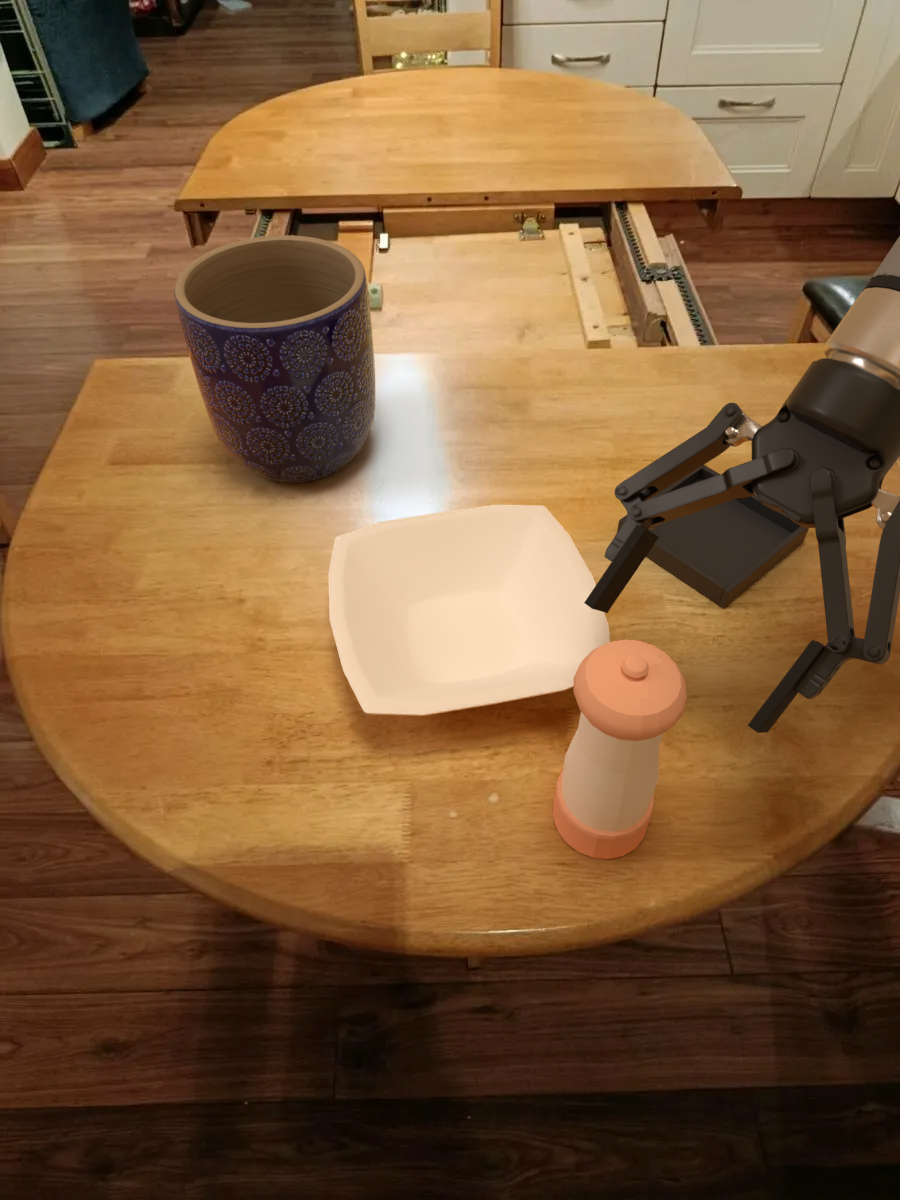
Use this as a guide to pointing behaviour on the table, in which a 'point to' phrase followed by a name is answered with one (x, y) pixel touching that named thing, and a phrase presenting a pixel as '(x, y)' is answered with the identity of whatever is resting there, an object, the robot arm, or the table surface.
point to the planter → (282, 352)
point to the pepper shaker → (616, 746)
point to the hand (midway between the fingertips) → (671, 665)
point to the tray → (723, 543)
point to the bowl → (461, 609)
